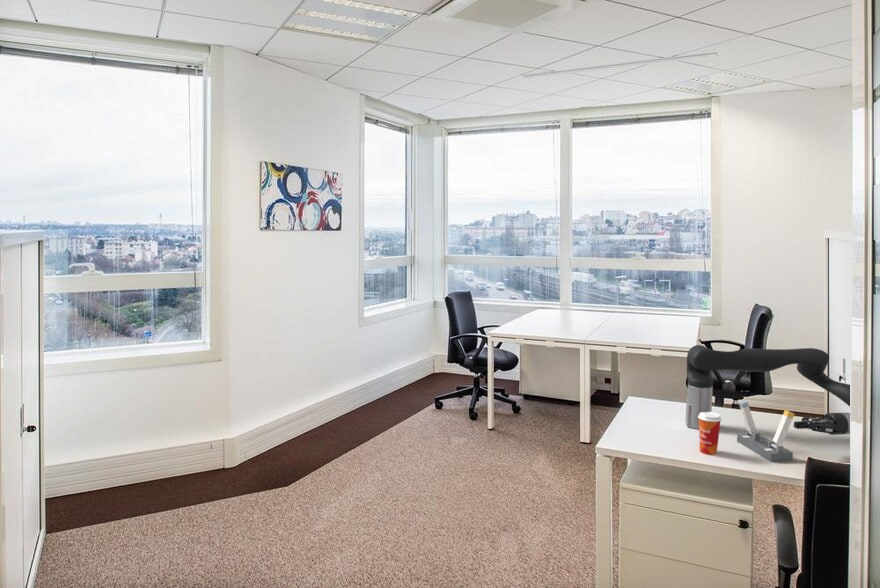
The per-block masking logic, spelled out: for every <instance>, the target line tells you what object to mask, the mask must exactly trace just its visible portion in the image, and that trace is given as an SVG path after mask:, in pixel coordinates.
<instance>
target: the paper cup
mask: <svg viewBox="0 0 880 588" xmlns="http://www.w3.org/2000/svg"><path fill="white" fill-rule="evenodd" d="M698 418H699V429H698V431H699V433H698V434H699V437H698V438H699V452H700V453H701V454H705V455H708V456H709V455H710V456H711V455H717V453H718V445H719V438H720V436H719V435H720V428H721V421H722V417H721V415H720V414H719V413H716V412H714V411H712V412H704V413H703V412H701V413H700V414H699V416H698Z"/></svg>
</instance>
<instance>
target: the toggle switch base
mask: <svg viewBox="0 0 880 588" xmlns="http://www.w3.org/2000/svg"><path fill="white" fill-rule="evenodd" d="M737 441H738V444H740V443H741V444H740V445H742V446H744V447H745V446H746V447H745V448H747V449H749V450H750V451H751V452H754V453H755V454H757V455H758V456H760V457H762V458H763V459H764V460H766V461H768V462H770V463H775V462H777V463H778V462H793V459H794V458H793V456H794V452H793V451H791V450H788V449H787V448H785V447H784V445H783V444H782V445H781V444H778V443H776V442H774V441H773V440H772V439H769V438H768V437H766V436H764V435H761V433H760V432H754V436H753V435H751V434H749V431H748V430H747V428H746V433H745V432H744V433H737V434H736V442H737ZM772 443H773V444H775V445H777V449H775V448H774V447H772V446H771V444H772Z"/></svg>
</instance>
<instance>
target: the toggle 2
mask: <svg viewBox="0 0 880 588" xmlns="http://www.w3.org/2000/svg"><path fill="white" fill-rule="evenodd" d="M794 416H795V413H794V412H791V411H789V410H785V409H784V411H783V413H782V416H781V419H780V422H779V425H778V427H777V429H776V432H775V434H774V436H773V438H772V441H774V442H775V443H776V444H778V445H782V446H783V442H784V440H785V439H786V435H787V434H788V431H789V429H790V426H791V423H792V422H793V419H794ZM771 446H772V447H774V448H775V449H777V445H775V444H773V443H772V444H771Z"/></svg>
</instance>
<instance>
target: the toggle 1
mask: <svg viewBox="0 0 880 588" xmlns="http://www.w3.org/2000/svg"><path fill="white" fill-rule="evenodd" d="M738 404H739V407H740V411H741V414H742V416H743V420H744V423H745V427H746V429H747V430H748V431H749V434H751V435H753V436H754V433H755V431H756V432H757V428H756V424H755V421H754V419H753V415H752V412H751V409H750V406H749V402H748V401H747V400H745V399H744V400H741V401H738Z"/></svg>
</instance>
